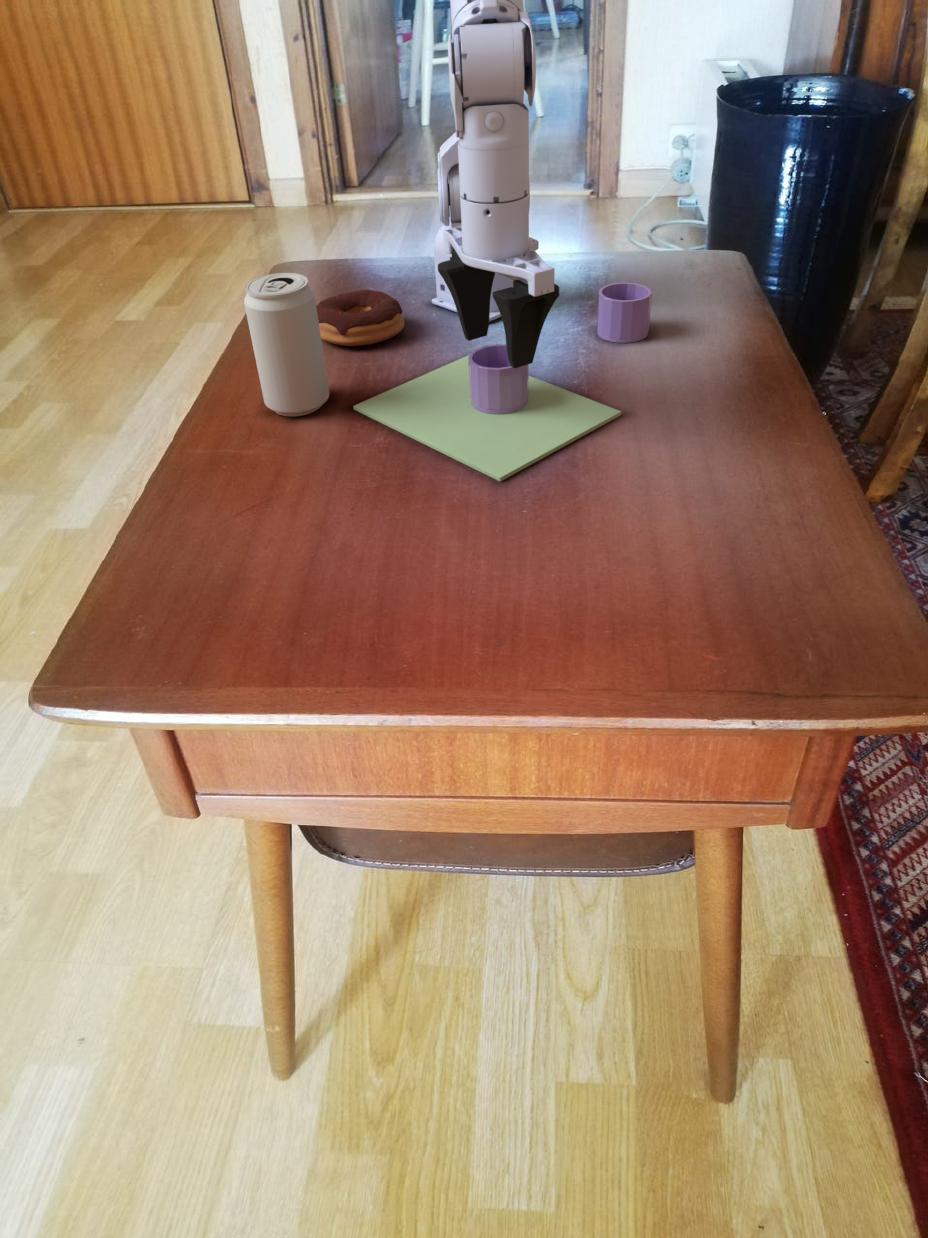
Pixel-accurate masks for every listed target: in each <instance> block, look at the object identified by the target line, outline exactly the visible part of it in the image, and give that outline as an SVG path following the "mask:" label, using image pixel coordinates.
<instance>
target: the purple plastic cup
mask: <svg viewBox="0 0 928 1238" xmlns="http://www.w3.org/2000/svg"><path fill="white" fill-rule="evenodd" d="M468 355H469V357H468V366H469V387H470V399H471V405H472V406H473V407H474V408H475V409H476V410H478V411H480V412H483V413H488V414H507V413H512V412H515V411H518V410H520V409H522V408H523V407H525V406H526V404H527V403H528V395H529V379H528V375H529V364H528V365H525V366H521V367H518V368H513V367H511V366H510V363H509V360H508V355H507V346H506V344H499V343H498V344H489V345H484V346H481V347H478V348H476V349H474V350H473V351H471V352H470V353H469V354H468Z"/></svg>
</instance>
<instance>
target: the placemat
mask: <svg viewBox="0 0 928 1238" xmlns="http://www.w3.org/2000/svg"><path fill="white" fill-rule="evenodd" d="M469 355H470V354H468V355H466V356H463V357H461V358H459V359H456V360H454V361H452V362H450V363H447V364H445V365H443V366H440V367H438V368H436V369H433V370H432V371H429V372H426V373H425V374H422V375H420V376H418V377H415V378H413V379H411V380H409V381H407V382H405V383H402V384H400V385H398V386H396V387H393V388H391V389H389V390H386V391H384V392H382V393H380V394H377V395H375V396H372V397H370V398H368V399H366V400H364V401H361V402H359V403H357V404H355V405H353V407H352V408H353V410H354V411H356V412H358V413H360V414H361V415H364V416H366V417H368V418H370V419H371V420H374V421H376V422H378V423H380V424H381V425H384V426H386V427H388V428H390V429H392V430H394V431H397V432H398V433H401V434H402V435H404V436H407V437H409V438H411V439H413V440H414V441H416V442H419V443H420V444H423V445H425V446H427V447H429V448H430V449H432V450H434V451H437V452H439V453H441V454H443V455H445V456H447V457H449V458H450V459H453V460H455V461H457V462H459V463H461V464H463V465H465V466H467V467H469V468H471V469H473V470H475V471H478V472H479V473H481V474H483V475H486V476H487V477H490V478H491V479H493V480H495V481H497V482H499V483H500V482H503V481H505V480H506V479H508V478H510V477H512V476H513V475H515V474H517V473H518V472H521V471H522V470H524V469H527V468H528V467H529V466H531V465H533V464H535V463H537V462H539V461H540V460H542V459H544V458H546V457H548V456H549V455H551V454H554V452H555V453H556V452H557V451H559V450H561V449H563V448H565V446H567V445H570V444H571V443H573V442H575V441H576V440H578V439H580V438H582V437H584V436H586V435H588V434H589V433H591V432H593V431H596V430H598V429H599V428H601V427H603V426H604V425H606V424H608V423H609V422H611V421H613V420H615V419H617V418H619V417H620V416H622V411H621V410H619V409H616V408H614V407H611V406H608V405H606V404H603V403H601V402H598V401H596V400H593V399H591V398H587V397H586V396H582V395H580V394H578V393H575V392H572V391H570V390H567V389H565V388H562V387H559V386H557V385H554V384H552V383H549V382H546V381H544V380H541V379H540V378H537V377H534V376H531V375H529V374H528V379H529V395H528V403H527V404H526V406H525V407H523V408H522V409H520V410H518V411H515V412H512V413H507V414H488V413H483V412H480V411H478V410H476V409H475V408H474V407H473V406H472V405H471V399H470V387H469V366H468V357H469Z"/></svg>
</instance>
